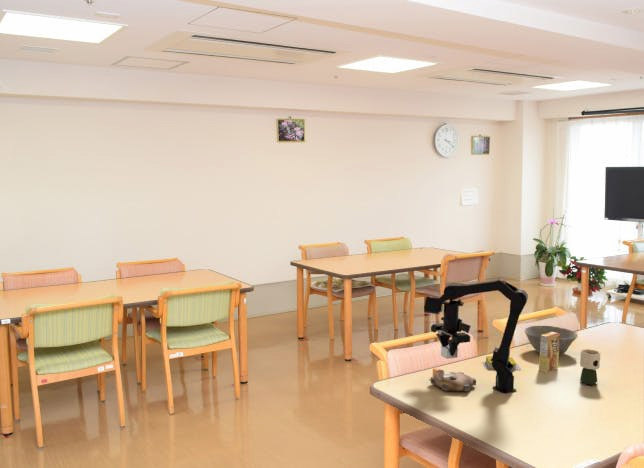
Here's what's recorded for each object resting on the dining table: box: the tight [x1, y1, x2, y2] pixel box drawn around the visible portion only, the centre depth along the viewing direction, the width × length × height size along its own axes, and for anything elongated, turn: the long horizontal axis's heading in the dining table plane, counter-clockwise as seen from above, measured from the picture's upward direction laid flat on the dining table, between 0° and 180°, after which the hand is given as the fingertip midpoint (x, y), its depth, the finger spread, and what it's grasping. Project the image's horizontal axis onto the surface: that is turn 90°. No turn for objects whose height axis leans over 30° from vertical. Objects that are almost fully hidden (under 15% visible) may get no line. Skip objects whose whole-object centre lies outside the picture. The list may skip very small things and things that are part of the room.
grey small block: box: [440, 344, 459, 359], centre depth 241 cm, size 4×5×4 cm
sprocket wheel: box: [430, 369, 477, 392], centre depth 236 cm, size 17×16×6 cm
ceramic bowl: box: [524, 325, 578, 355], centre depth 281 cm, size 22×23×10 cm
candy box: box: [538, 332, 560, 373], centre depth 257 cm, size 9×4×15 cm, turn 129°
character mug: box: [579, 348, 601, 386], centre depth 241 cm, size 11×7×13 cm, turn 135°
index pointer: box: [432, 367, 442, 377], centre depth 246 cm, size 2×2×4 cm
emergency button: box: [482, 355, 522, 371], centre depth 261 cm, size 9×4×15 cm
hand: (449, 354), depth 241 cm, fingers closed on grey small block, 4 cm apart
